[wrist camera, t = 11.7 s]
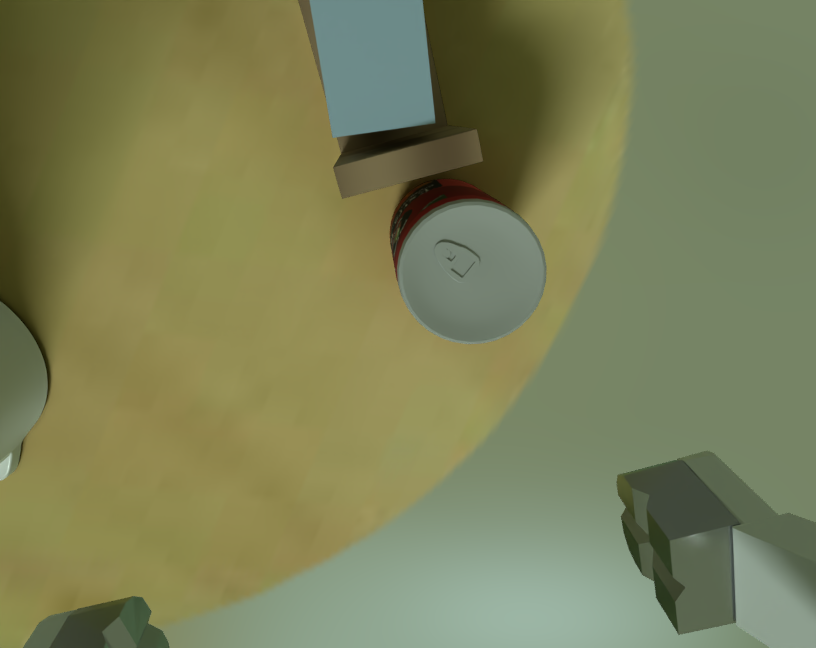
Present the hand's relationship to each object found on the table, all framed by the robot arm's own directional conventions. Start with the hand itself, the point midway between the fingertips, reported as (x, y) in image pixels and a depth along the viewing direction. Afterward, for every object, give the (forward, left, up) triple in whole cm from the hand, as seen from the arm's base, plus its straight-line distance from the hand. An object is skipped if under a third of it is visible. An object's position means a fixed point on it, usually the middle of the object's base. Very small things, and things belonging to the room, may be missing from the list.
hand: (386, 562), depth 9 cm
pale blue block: (+3, +12, -27) cm, 30 cm away
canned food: (+5, -2, -31) cm, 32 cm away
